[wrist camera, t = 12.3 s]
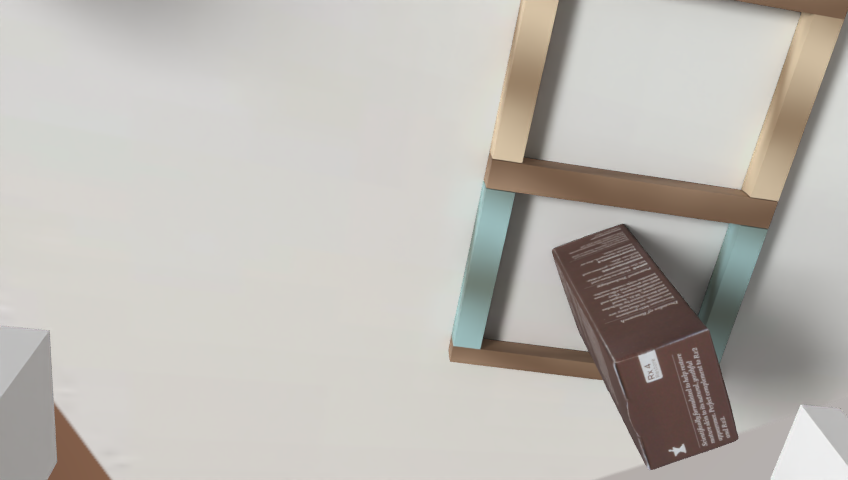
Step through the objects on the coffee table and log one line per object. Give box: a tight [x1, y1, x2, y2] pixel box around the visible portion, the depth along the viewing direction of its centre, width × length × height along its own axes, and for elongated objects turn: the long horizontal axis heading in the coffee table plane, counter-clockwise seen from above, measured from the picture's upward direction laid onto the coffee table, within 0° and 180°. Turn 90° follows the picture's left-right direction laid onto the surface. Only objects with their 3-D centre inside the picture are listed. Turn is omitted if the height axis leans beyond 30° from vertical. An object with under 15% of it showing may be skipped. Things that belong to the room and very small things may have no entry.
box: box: [552, 224, 738, 470], centre depth 39 cm, size 6×4×12 cm
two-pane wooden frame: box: [449, 0, 848, 380], centre depth 42 cm, size 22×15×1 cm
